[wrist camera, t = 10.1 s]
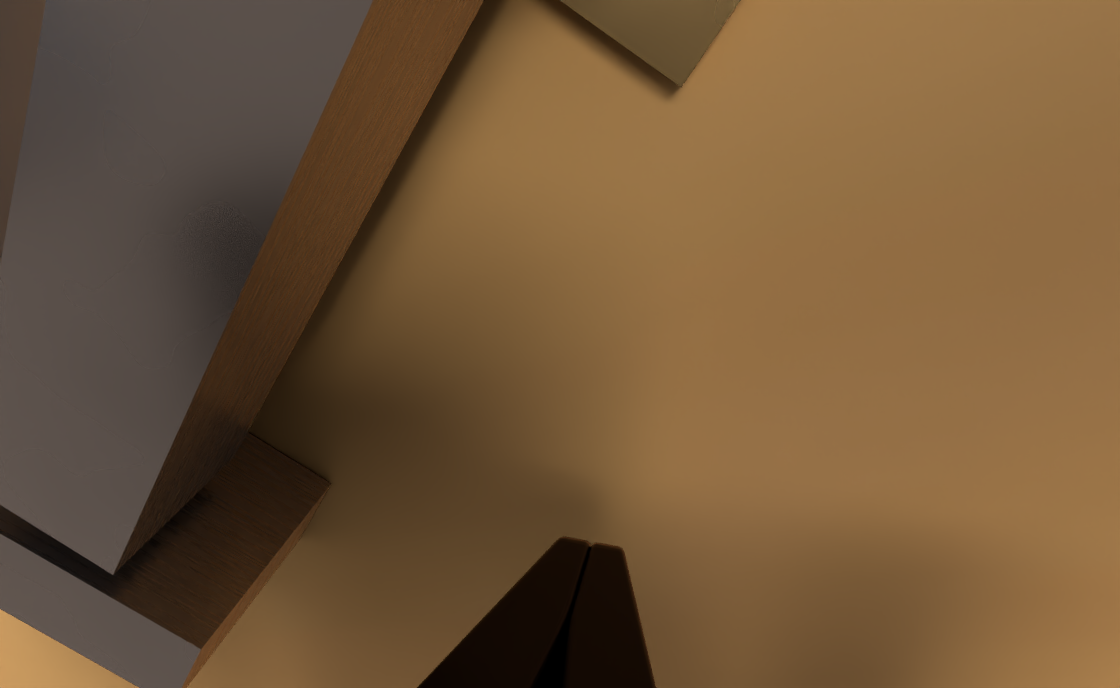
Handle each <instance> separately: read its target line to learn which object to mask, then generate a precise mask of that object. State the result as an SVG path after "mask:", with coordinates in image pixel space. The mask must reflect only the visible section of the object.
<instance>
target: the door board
mask: <svg viewBox="0 0 1120 688" xmlns="http://www.w3.org/2000/svg"><path fill="white" fill-rule="evenodd" d="M45 3H46V0H0V264H1V258H2V252H3V246H4V240H5V235H6V229H7V223H8V217H9V212H10V206H11V200H12V194H13V188H14V183H15V177H16V171H17V165H18V159H19V154H20V148H21V142H22V136H23V131H24V125H25V119H26V113H27V107H28V102H29V96H30V90H31V84H32V78H33V73H34V67H35V61H36V55H37V50H38V44H39V38H40V32H41V26H42V21H43V15H44V9H45Z"/></svg>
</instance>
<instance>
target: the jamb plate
mask: <svg viewBox="0 0 1120 688" xmlns="http://www.w3.org/2000/svg"><path fill="white" fill-rule="evenodd" d="M560 1H561V2H563V3H564V4H566V5H567V6H568V7H570V8H571V9H573V10H574V11H575V12H577V13H578V14H580V15H581V16H582V17H584V18H585V19H586V20H588V21H589V22H591V23H592V24H593V25H595V26H596V27H598V28H599V29H600V30H602V31H603V32H605V33H606V34H607V35H609V36H610V37H612V38H613V39H614V40H616V41H617V42H619V43H620V44H621V45H623V46H624V47H626V48H627V49H628V50H630V51H631V52H633V53H634V54H635V55H637V56H638V57H639V58H641V59H642V60H644V61H645V62H646V63H648V64H649V65H651V66H652V67H653V68H655V69H656V70H658V71H659V72H660V73H662V74H663V75H665V76H666V77H667V78H669V79H670V80H672V81H673V82H674V83H676V84H677V85H679V86H680V87H682V85H683V84H684V83H685V81H686V80H687V78H688V77H689V75H690V74H691V72H692V71H693V69H694V68H695V66H696V65H697V63H698V62H699V61H700V59H701V58H702V56H703V55H704V53H705V52H706V50H707V49H708V47H709V46H710V44H711V43H712V42H713V40H714V39H715V37H716V36H717V34H718V33H719V31H720V30H721V28H722V27H723V25H724V24H725V22H726V21H727V20H728V18H729V17H730V15H731V14H732V12H733V11H734V9H735V8H736V6H737V5H738V3H739V2H740V0H560Z"/></svg>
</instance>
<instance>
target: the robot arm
mask: <svg viewBox="0 0 1120 688" xmlns="http://www.w3.org/2000/svg"><path fill="white" fill-rule="evenodd" d="M417 688H656V686H655V681H654V677H653V673H652V668H651V664H650V660H649V656H648V651H647V647H646V643H645V638H644V634H643V630H642V626H641V621H640V617H639V613H638V609H637V604H636V600H635V596H634V591H633V587H632V583H631V579H630V574H629V570H628V566H627V561H626V557H625V553H624V551H623V549H622V548H621V547H619V546H613V545H608V544H603V543H594V544H593V545H592V546H591V544H590V543H589V542H588V541H586V540H581V539H576V538H570V537H561V538H559V539H558V540H557V541H556V542H555V543H554V544H553V545H552V546H551V547H550V548H549V549H548V550H547V551H546V552H545V553H544V554H543V556H542V557H541V558H540V559H539V560H538V561H537V562H536V563H535V564H534V565H533V566H532V567H531V568H530V569H529V570H528V571H527V572H526V573H525V574H524V576H523V577H522V578H521V579H520V580H519V581H518V582H517V583H516V584H515V585H514V586H513V587H512V588H511V589H510V590H509V591H508V592H507V593H506V594H505V596H504V597H503V598H502V599H501V600H500V601H499V602H498V603H497V604H496V605H495V606H494V607H493V608H492V609H491V610H490V611H489V612H488V613H487V615H486V616H485V617H484V618H483V619H482V620H481V621H480V622H479V623H478V624H477V625H476V626H475V627H474V628H473V629H472V630H471V631H470V632H469V633H468V635H467V636H466V637H465V638H464V639H463V640H462V641H461V642H460V643H459V644H458V645H457V646H456V647H455V648H454V649H453V650H452V651H451V652H450V653H449V655H448V656H447V657H446V658H445V659H444V660H443V661H442V662H441V663H440V664H439V665H438V666H437V667H436V668H435V669H434V670H433V671H432V672H431V674H430V675H429V676H428V677H427V678H426V679H425V680H424V681H423V682H422V683H421V684H420V685H419V686H418V687H417Z"/></svg>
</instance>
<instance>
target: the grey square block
mask: <svg viewBox="0 0 1120 688" xmlns="http://www.w3.org/2000/svg"><path fill="white" fill-rule="evenodd" d="M330 485H331V483H329V482H328V481H326V480H324V479H323V478H321V477H320V476H318V475H316V474H315V473H313V472H311V471H310V470H308V469H307V468H305V467H303V466H302V465H300V464H298V463H297V462H295V461H294V460H292V459H290V458H289V457H287V456H285V455H284V454H282V453H281V452H279V451H277V450H276V449H274V448H272V447H271V446H269V445H268V444H266V443H264V442H263V441H261V440H259V439H258V438H256V437H254V436H253V435H251V434H250V433H248V432H247V434H246V436H245V438H244V440H243V441H242V443H241V445H240V447H239V449H238V451H237V452H236V454H235V456H234V458H233V459H232V460H230V461H229V462H228V463H227V464H226V465H225V466H224V467H223V468H222V469H221V470H220V471H219V472H218V473H217V474H216V475H215V476H214V477H213V478H212V479H211V480H210V481H209V482H208V483H207V484H206V485H205V486H204V487H203V488H202V489H201V490H200V491H199V492H198V493H197V494H196V495H195V496H194V497H193V498H191V499H190V500H189V501H188V502H187V503H186V504H185V505H184V506H183V507H182V508H181V509H180V510H179V511H178V512H177V513H176V514H175V515H174V516H173V517H172V518H171V519H170V520H169V521H168V522H167V523H166V524H165V525H164V526H163V527H162V528H161V529H160V530H159V531H158V532H157V533H156V534H155V535H154V536H152V537H151V538H150V539H149V540H148V541H147V542H146V543H145V544H144V545H143V546H142V547H141V548H140V549H139V550H138V551H137V552H136V553H135V554H134V555H133V556H132V557H131V558H130V559H129V560H128V561H127V562H126V563H125V564H124V565H123V566H122V567H121V568H120V569H119V570H118V571H117V572H116V573H115V574H113V575H112V574H111V573H109V572H107V571H106V570H104V569H103V568H101V567H99V566H98V565H96V564H95V563H93V562H91V561H90V560H88V559H87V558H85V557H83V556H82V555H80V554H78V553H77V552H75V551H74V550H72V549H70V548H69V547H67V546H66V545H64V544H62V543H61V542H59V541H58V540H56V539H54V538H53V537H51V536H50V535H48V534H46V533H45V532H43V531H42V530H40V529H38V528H37V527H35V526H34V525H32V524H30V523H29V522H27V521H26V520H24V519H22V518H21V517H19V516H17V515H16V514H14V513H13V512H11V511H9V510H8V509H6V508H5V507H3V506H1V505H0V609H1V610H3V611H5V612H7V613H8V614H10V615H12V616H14V617H15V618H17V619H19V620H21V621H23V622H24V623H26V624H28V625H30V626H31V627H33V628H35V629H37V630H38V631H40V632H42V633H44V634H46V635H47V636H49V637H51V638H53V639H54V640H56V641H58V642H60V643H61V644H63V645H65V646H67V647H69V648H70V649H72V650H74V651H76V652H77V653H79V654H81V655H83V656H84V657H86V658H88V659H90V660H92V661H93V662H95V663H97V664H99V665H100V666H102V667H104V668H106V669H107V670H109V671H111V672H113V673H115V674H116V675H118V676H120V677H122V678H123V679H125V680H127V681H129V682H130V683H132V684H134V685H136V686H138V687H139V688H187V686H188V685H189V684H190V682H191V681H192V680H193V678H194V677H195V676H196V674H197V673H198V672H199V671H200V669H201V668H202V667H203V665H204V664H205V663H206V661H207V660H208V659H209V657H210V656H211V655H212V654H213V652H214V651H215V650H216V648H217V647H218V646H219V644H220V643H221V642H222V640H223V639H224V638H225V636H226V635H227V634H228V633H229V631H230V630H231V629H232V627H233V626H234V625H235V623H236V622H237V621H238V619H239V618H240V617H241V616H242V614H243V613H244V612H245V610H246V609H247V608H248V606H249V605H250V604H251V602H252V601H253V600H254V599H255V597H256V596H257V595H258V593H259V592H260V591H261V589H262V588H263V587H264V585H265V584H266V583H267V582H268V580H269V579H270V578H271V576H272V575H273V574H274V572H275V571H276V570H277V568H278V567H279V566H280V564H281V563H282V562H283V561H284V559H285V558H286V557H287V555H288V554H289V553H290V551H291V550H292V549H293V547H294V546H295V545H296V544H297V542H298V541H299V539H300V537H301V536H302V534H303V532H304V530H305V529H306V527H307V525H308V523H309V522H310V520H311V518H312V516H313V515H314V513H315V511H316V509H317V508H318V506H319V504H320V502H321V501H322V499H323V497H324V495H325V494H326V492H327V490H328V488H329V487H330Z"/></svg>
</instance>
